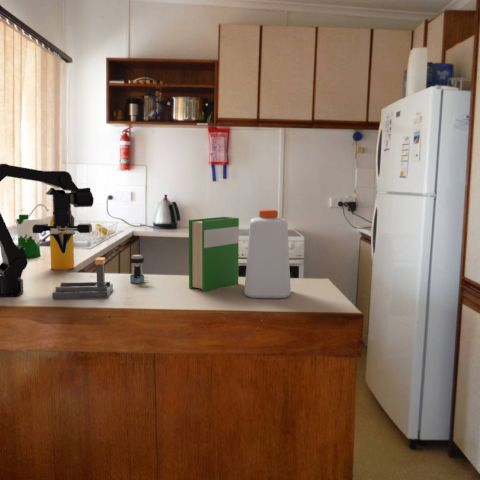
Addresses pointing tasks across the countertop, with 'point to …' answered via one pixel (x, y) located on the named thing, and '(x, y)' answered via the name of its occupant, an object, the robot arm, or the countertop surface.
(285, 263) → the plastic bottle
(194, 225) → the hardback book
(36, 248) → the milk carton
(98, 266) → the lever
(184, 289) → the countertop surface
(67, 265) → the beer bottle
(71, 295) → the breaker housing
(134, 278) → the push button
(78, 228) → the robot arm
